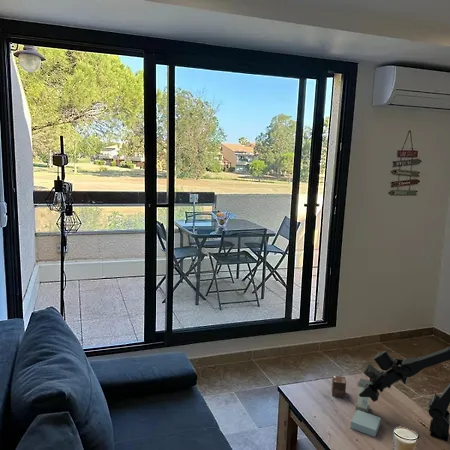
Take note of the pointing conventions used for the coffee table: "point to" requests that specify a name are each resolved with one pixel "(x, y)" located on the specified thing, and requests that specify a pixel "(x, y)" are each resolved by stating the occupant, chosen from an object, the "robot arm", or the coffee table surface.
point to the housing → (363, 401)
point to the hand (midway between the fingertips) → (360, 393)
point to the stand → (365, 423)
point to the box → (338, 386)
